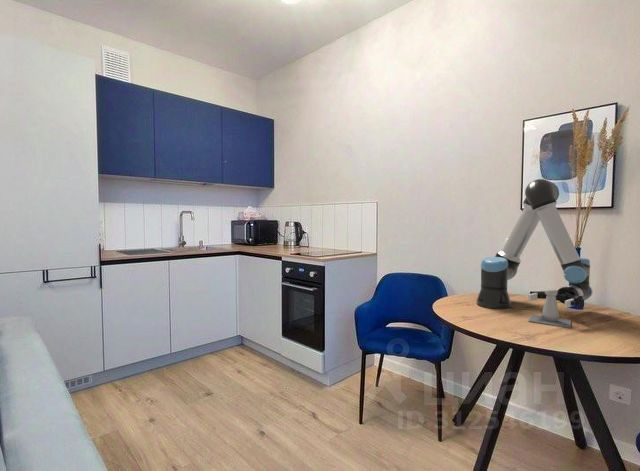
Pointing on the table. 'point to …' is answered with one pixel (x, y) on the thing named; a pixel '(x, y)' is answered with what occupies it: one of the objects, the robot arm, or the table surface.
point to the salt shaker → (550, 306)
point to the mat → (559, 321)
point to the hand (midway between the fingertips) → (546, 300)
